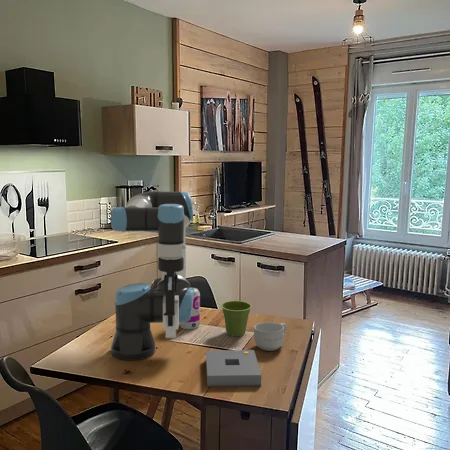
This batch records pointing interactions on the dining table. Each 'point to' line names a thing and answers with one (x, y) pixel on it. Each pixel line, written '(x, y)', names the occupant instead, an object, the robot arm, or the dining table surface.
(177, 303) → the plug
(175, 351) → the dining table surface
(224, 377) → the plate
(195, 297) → the supplement can
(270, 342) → the teacup
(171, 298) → the robot arm
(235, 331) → the plant pot
